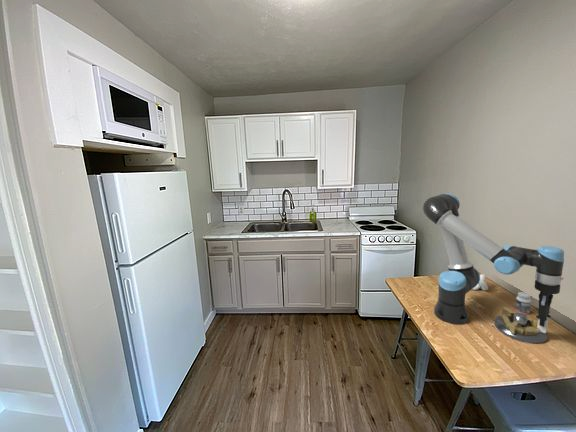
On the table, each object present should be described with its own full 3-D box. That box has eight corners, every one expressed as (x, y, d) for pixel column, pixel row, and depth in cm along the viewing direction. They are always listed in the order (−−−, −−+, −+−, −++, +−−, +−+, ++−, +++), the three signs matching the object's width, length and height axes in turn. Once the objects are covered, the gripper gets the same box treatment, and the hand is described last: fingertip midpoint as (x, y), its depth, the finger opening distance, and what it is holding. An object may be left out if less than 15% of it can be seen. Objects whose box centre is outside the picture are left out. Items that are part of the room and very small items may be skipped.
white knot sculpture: (467, 292, 148) (467, 278, 147) (461, 282, 159) (461, 270, 157) (489, 293, 144) (490, 280, 142) (481, 284, 155) (482, 271, 153)
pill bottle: (513, 307, 130) (515, 290, 128) (527, 309, 128) (529, 292, 126) (517, 313, 125) (518, 296, 123) (531, 315, 123) (534, 298, 121)
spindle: (514, 331, 113) (515, 317, 112) (511, 325, 117) (512, 312, 116) (527, 334, 111) (529, 319, 109) (523, 328, 115) (525, 314, 113)
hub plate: (499, 337, 111) (500, 334, 110) (490, 315, 126) (490, 312, 126) (554, 348, 102) (555, 344, 102) (537, 322, 117) (537, 319, 117)
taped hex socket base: (507, 333, 110) (507, 325, 109) (499, 314, 123) (499, 306, 122) (552, 343, 103) (553, 333, 102) (538, 321, 116) (539, 312, 115)
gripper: (557, 290, 97) (551, 342, 101) (563, 279, 105) (556, 327, 109) (531, 284, 103) (526, 333, 107) (538, 274, 111) (533, 320, 115)
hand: (541, 330), depth 108 cm, fingers closed, pressing on taped hex socket base
